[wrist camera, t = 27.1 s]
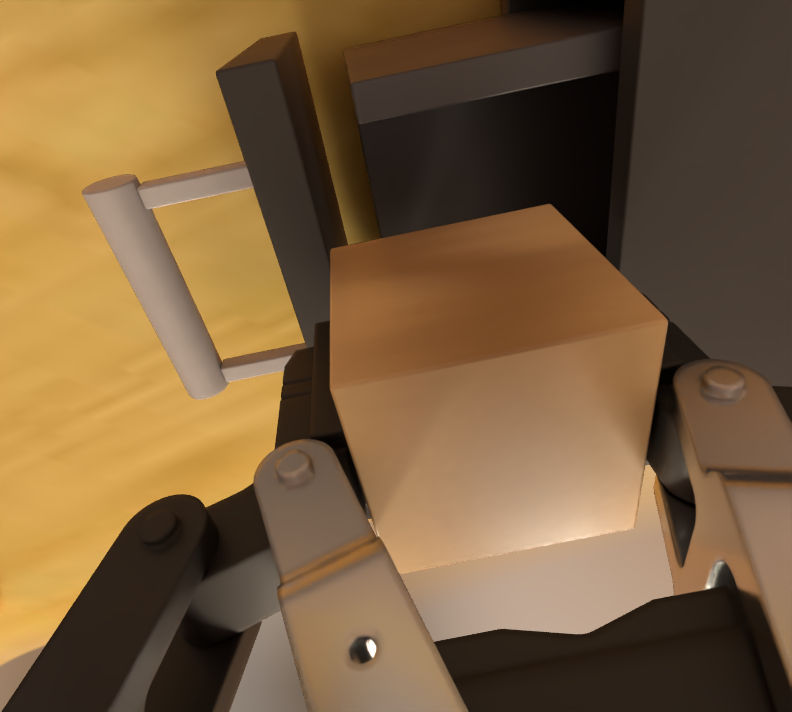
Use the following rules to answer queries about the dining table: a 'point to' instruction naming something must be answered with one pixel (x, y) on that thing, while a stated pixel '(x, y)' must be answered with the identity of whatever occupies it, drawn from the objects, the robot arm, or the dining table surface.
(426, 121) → the drawer with bar handle
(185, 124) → the dining table surface
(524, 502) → the block
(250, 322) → the dining table surface
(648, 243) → the dark drawer cabinet
